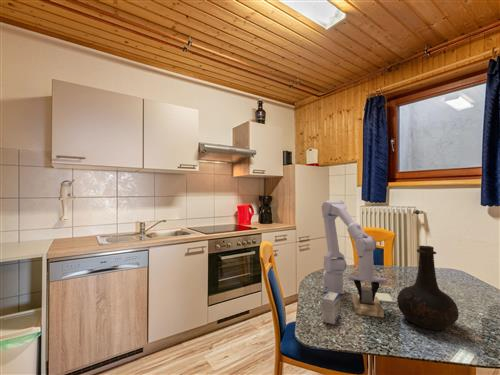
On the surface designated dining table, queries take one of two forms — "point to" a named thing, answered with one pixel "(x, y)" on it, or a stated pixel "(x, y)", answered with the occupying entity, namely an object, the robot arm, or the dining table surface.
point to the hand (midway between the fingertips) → (366, 299)
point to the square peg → (366, 295)
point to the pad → (384, 297)
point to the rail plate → (367, 307)
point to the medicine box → (330, 307)
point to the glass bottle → (427, 297)
